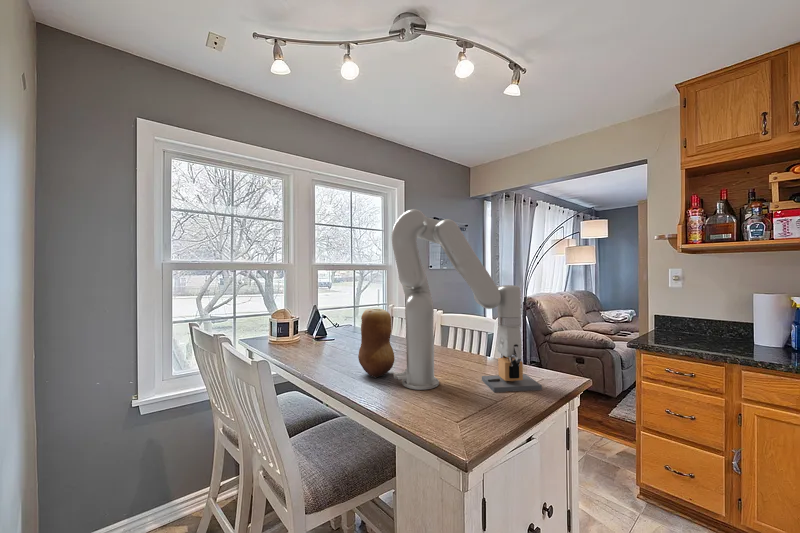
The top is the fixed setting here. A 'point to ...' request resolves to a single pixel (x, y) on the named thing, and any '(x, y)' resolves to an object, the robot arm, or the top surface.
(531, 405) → the top surface
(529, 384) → the plate
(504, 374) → the tan wooden cube
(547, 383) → the top surface
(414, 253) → the robot arm
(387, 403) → the top surface
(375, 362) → the butternut squash
